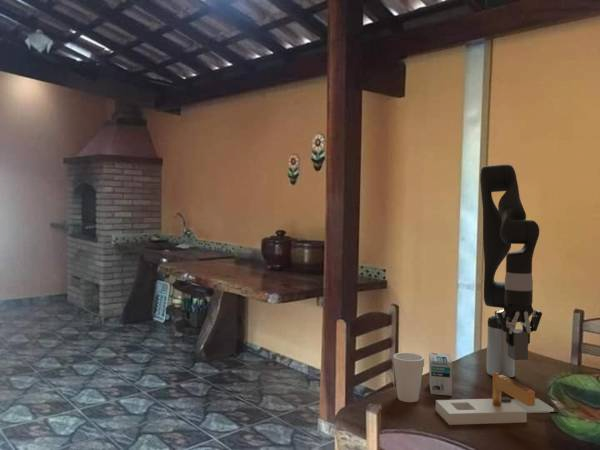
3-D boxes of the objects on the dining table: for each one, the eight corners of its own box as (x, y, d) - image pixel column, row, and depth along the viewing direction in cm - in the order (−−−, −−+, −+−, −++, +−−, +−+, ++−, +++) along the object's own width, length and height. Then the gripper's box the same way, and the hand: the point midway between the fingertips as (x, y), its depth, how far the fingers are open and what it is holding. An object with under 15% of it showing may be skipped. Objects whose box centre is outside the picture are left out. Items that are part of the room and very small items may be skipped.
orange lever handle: (526, 426, 126) (527, 392, 125) (490, 403, 141) (491, 372, 141) (535, 426, 126) (535, 391, 126) (498, 402, 142) (498, 372, 142)
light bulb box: (452, 396, 156) (452, 362, 156) (430, 394, 157) (430, 360, 157) (449, 385, 166) (449, 353, 166) (428, 383, 168) (428, 351, 167)
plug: (507, 356, 148) (508, 329, 148) (520, 355, 149) (521, 329, 148) (514, 360, 144) (515, 332, 144) (527, 359, 145) (528, 332, 144)
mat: (507, 400, 152) (507, 399, 152) (537, 399, 153) (537, 398, 153) (524, 413, 142) (524, 412, 142) (557, 412, 143) (557, 411, 143)
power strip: (435, 410, 144) (435, 397, 144) (507, 408, 146) (508, 395, 146) (449, 424, 134) (449, 410, 134) (526, 422, 136) (526, 408, 136)
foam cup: (405, 406, 147) (406, 362, 147) (386, 396, 155) (387, 354, 155) (430, 400, 152) (430, 358, 151) (410, 391, 160) (410, 351, 160)
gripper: (534, 285, 150) (533, 341, 151) (489, 286, 149) (488, 342, 150) (549, 289, 143) (548, 348, 143) (501, 290, 142) (500, 349, 142)
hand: (517, 345), depth 146 cm, fingers closed on plug, 4 cm apart
